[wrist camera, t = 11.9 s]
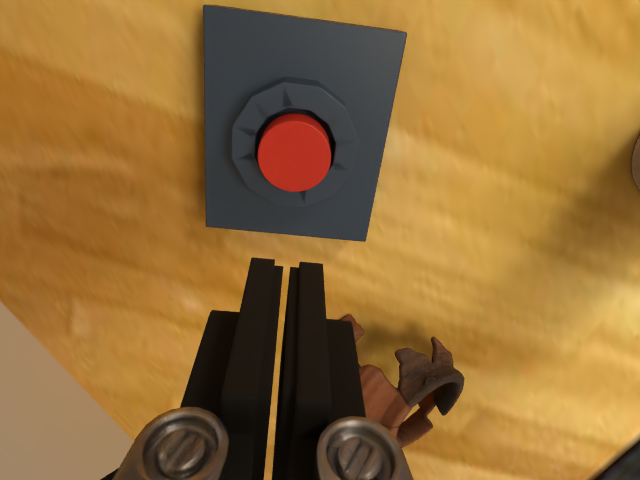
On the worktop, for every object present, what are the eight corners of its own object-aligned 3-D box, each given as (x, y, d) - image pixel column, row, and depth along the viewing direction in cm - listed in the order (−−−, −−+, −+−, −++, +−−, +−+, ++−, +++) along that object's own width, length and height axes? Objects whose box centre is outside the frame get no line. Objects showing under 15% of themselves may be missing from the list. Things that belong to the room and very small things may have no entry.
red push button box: (211, 4, 22) (193, 4, 18) (399, 30, 23) (416, 34, 19) (212, 211, 28) (198, 241, 24) (361, 226, 28) (369, 257, 25)
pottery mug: (364, 278, 31) (444, 357, 25) (418, 308, 38) (490, 375, 32) (267, 397, 32) (323, 496, 27) (336, 405, 39) (392, 485, 34)
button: (262, 108, 21) (259, 116, 19) (333, 117, 21) (336, 125, 20) (259, 176, 23) (255, 188, 21) (324, 183, 23) (326, 195, 21)
